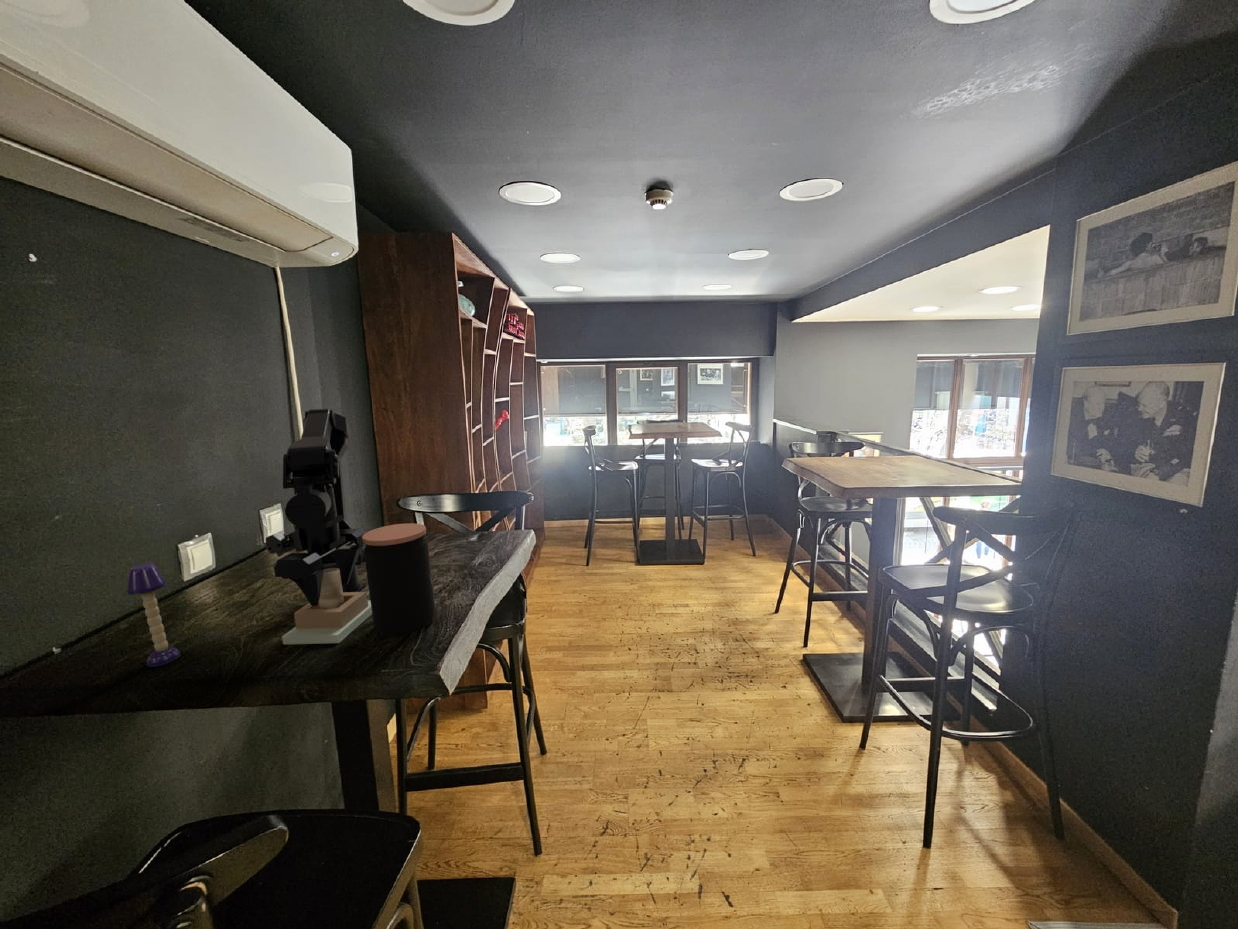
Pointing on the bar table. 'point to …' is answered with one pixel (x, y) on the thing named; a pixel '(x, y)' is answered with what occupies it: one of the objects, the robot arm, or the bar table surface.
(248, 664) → the bar table surface
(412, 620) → the coffee jar
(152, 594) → the toy lamp
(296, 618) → the socket board
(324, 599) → the birch peg
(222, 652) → the bar table surface
